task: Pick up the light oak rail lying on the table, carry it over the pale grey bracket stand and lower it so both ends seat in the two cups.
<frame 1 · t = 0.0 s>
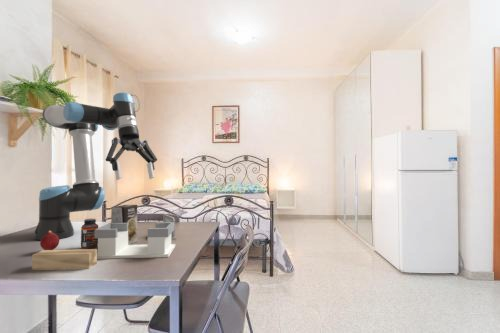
hand: (136, 178, 107), 28 cm above the table, tool tilted 20°, fingers open, 13 cm apart
supplement bottle: (89, 248, 109), on the table
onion: (49, 252, 103), on the table
coffee box: (124, 244, 115), on the table
handheld gaming console: (160, 239, 125), on the table
bracket stand: (137, 252, 103), on the table
rail: (65, 267, 88), on the table
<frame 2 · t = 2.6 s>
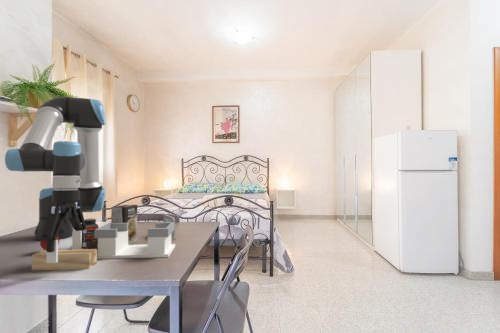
hand: (65, 255, 88), 4 cm above the table, tool pointing down, fingers open, 13 cm apart
nothing on the table moved.
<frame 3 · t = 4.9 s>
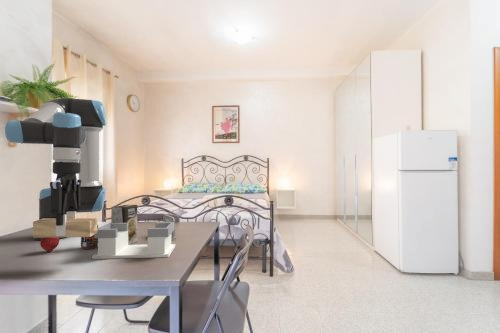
hand: (66, 232, 88), 11 cm above the table, tool pointing down, fingers closed on rail, 5 cm apart
rail: (66, 235, 88), point 10 cm above the table, touching gripper
everything else where it was.
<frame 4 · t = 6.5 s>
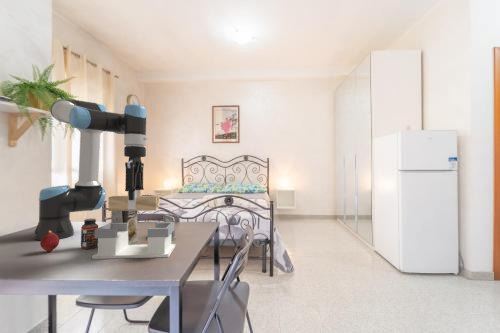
hand: (134, 207, 103), 17 cm above the table, tool pointing down, fingers closed on rail, 5 cm apart
rail: (134, 209, 103), point 16 cm above the table, touching gripper
everything else where it was.
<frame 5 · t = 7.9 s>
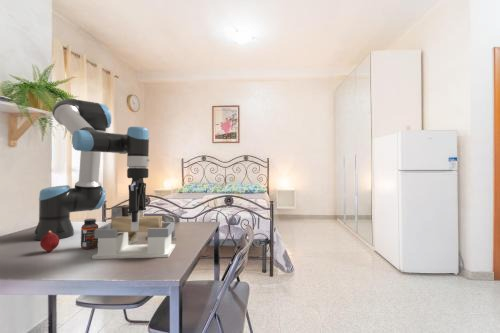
hand: (137, 228, 103), 9 cm above the table, tool pointing down, fingers closed on rail, 5 cm apart
rail: (137, 230, 103), point 8 cm above the table, touching gripper
everything else where it was.
when the fingers open (8 cm above the table, at t = 8.4 s): rail stays where it is, resting on bracket stand.
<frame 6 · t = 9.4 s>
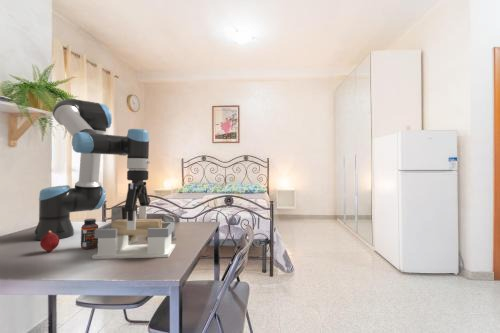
hand: (137, 225, 104), 10 cm above the table, tool pointing down, fingers open, 13 cm apart
rail: (137, 233, 104), point 7 cm above the table, touching bracket stand
everything else where it was.
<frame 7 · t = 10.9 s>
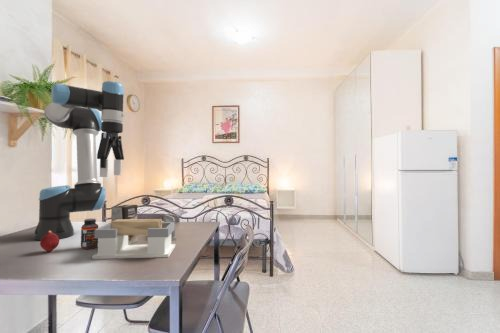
hand: (111, 176, 108), 29 cm above the table, tool pointing down, fingers open, 13 cm apart
nothing on the table moved.
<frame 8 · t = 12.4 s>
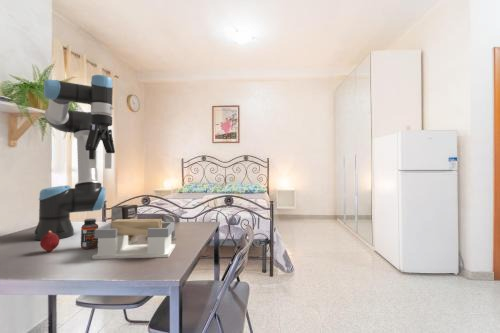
hand: (101, 168, 108), 32 cm above the table, tool pointing down, fingers open, 13 cm apart
nothing on the table moved.
at the end: rail 0.0 cm off-centre on the bracket stand, point 7.0 cm above the bracket stand's base; rail tilted 0°; the gripper is holding nothing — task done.
